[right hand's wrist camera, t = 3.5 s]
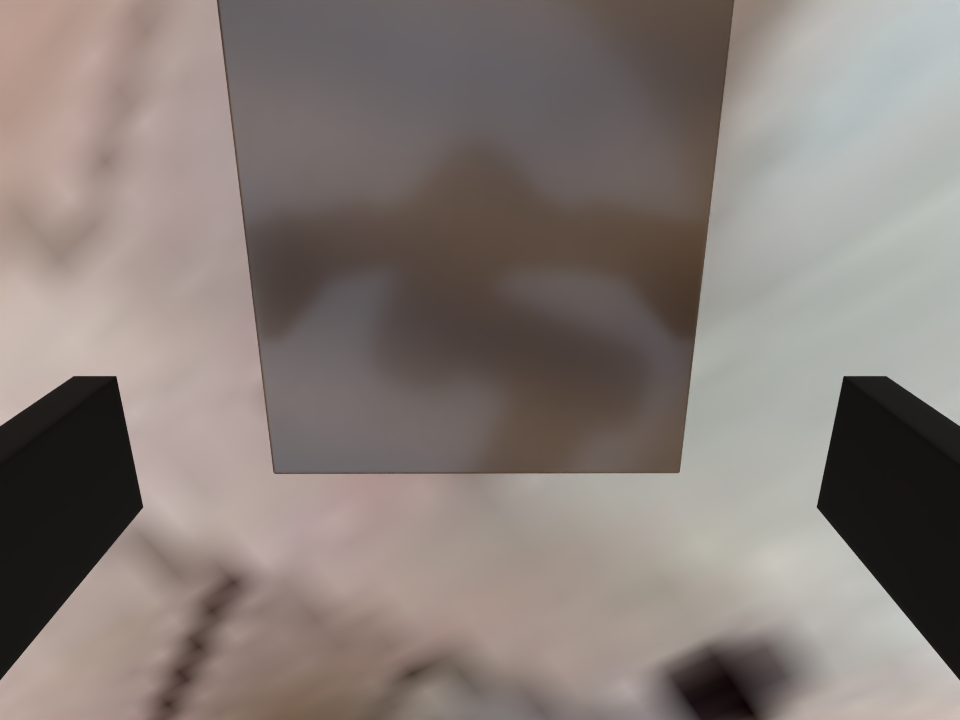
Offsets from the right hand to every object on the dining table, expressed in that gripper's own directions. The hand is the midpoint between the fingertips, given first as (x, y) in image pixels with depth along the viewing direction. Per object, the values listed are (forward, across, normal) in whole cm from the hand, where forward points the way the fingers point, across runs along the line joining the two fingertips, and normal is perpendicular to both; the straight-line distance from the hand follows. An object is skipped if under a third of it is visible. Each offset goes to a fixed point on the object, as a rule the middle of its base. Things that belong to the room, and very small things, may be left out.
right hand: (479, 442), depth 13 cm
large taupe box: (+16, 0, -7) cm, 18 cm away
